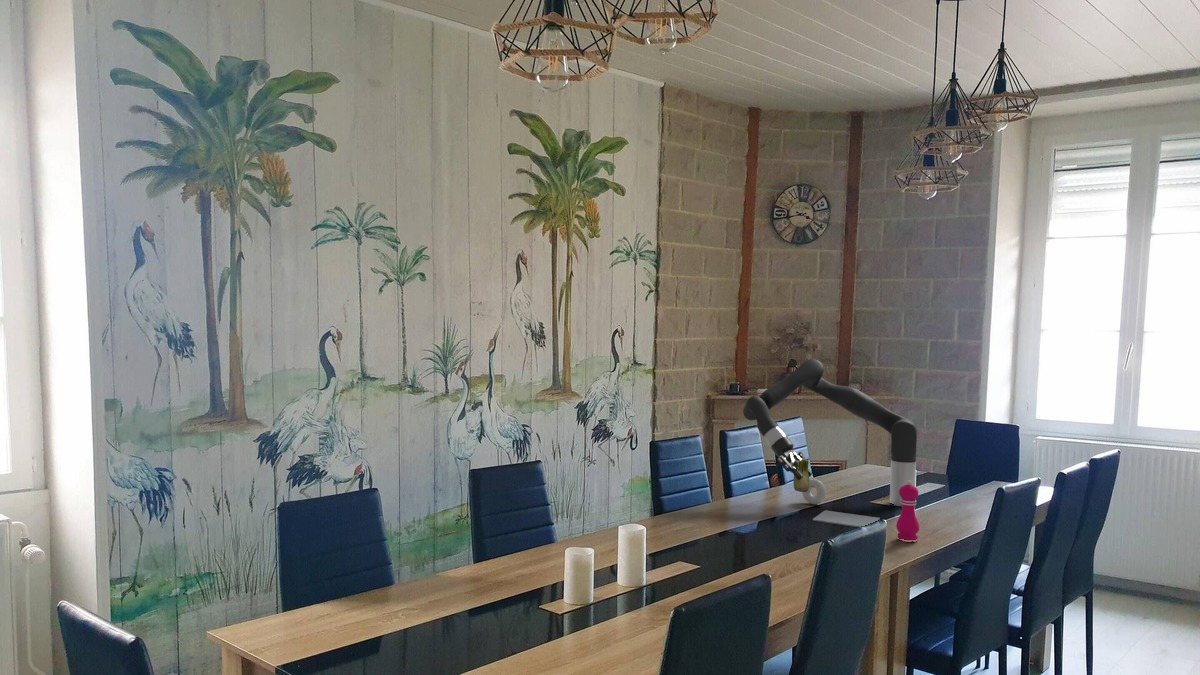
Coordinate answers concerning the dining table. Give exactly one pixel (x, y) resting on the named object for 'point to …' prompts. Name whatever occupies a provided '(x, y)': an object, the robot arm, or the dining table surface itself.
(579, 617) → the dining table surface
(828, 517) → the rubber mat
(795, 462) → the fennel bulb
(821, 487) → the donut
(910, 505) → the pepper mill
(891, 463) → the robot arm
